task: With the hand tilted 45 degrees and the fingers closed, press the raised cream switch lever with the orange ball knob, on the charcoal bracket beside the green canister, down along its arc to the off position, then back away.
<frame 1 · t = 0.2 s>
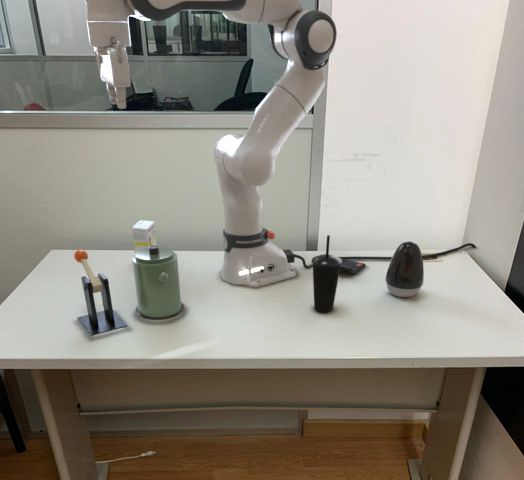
hand: (118, 106, 124), 48 cm above the table, tool pointing down, fingers open, 8 cm apart
ink box: (147, 260, 170), on the table
drinking cup: (323, 309, 140), on the table
switch bracket: (102, 325, 132), on the table
black egg-shaped device: (402, 294, 148), on the table
green canister: (160, 312, 138), on the table
switch lever: (88, 270, 128), point 13 cm above the table, hinge at 25.0°
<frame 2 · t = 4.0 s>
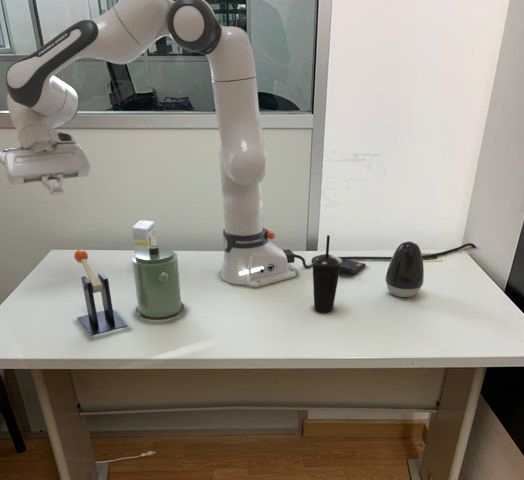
hand: (57, 193, 133), 28 cm above the table, tool tilted 45°, fingers closed
nothing on the table moved.
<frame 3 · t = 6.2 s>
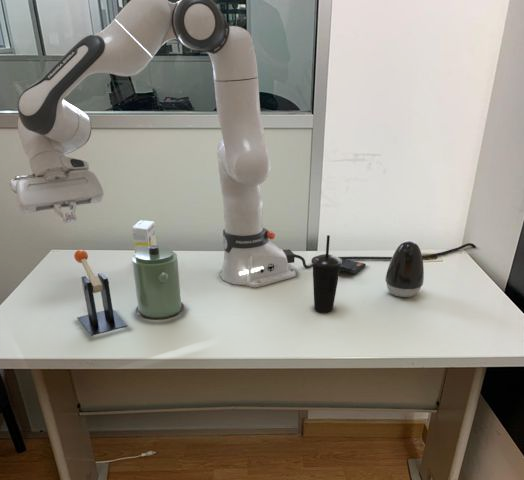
hand: (70, 220, 130), 23 cm above the table, tool tilted 45°, fingers closed
nothing on the table moved.
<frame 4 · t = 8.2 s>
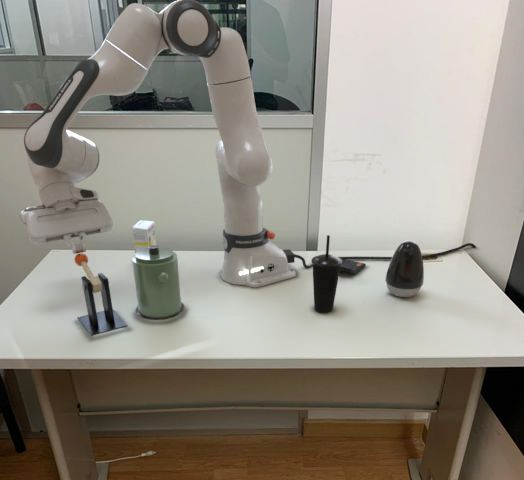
hand: (80, 251, 130), 16 cm above the table, tool tilted 45°, fingers closed
switch lever: (88, 271, 129), point 13 cm above the table, hinge at 18.6°, touching gripper
everything else where it was.
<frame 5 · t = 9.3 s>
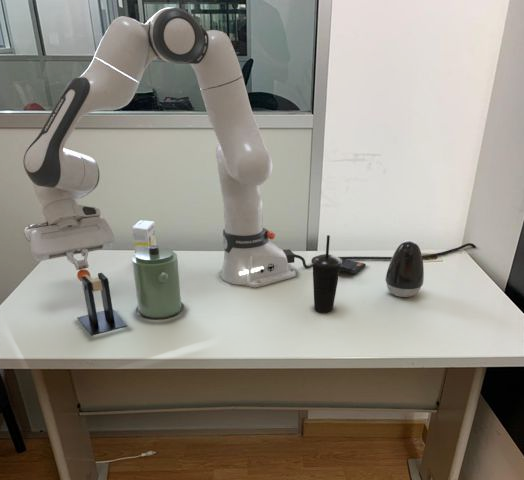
hand: (82, 268, 132), 12 cm above the table, tool tilted 45°, fingers closed
switch lever: (89, 279, 130), point 10 cm above the table, hinge at -6.7°, touching gripper
everything else where it was.
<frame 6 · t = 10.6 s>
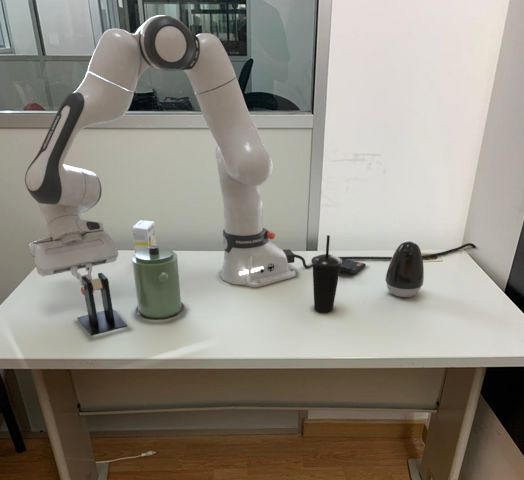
hand: (86, 282, 133), 8 cm above the table, tool tilted 45°, fingers closed, pressing on switch lever
switch lever: (91, 287, 131), point 9 cm above the table, hinge at -28.4°, touching gripper
everything else where it was.
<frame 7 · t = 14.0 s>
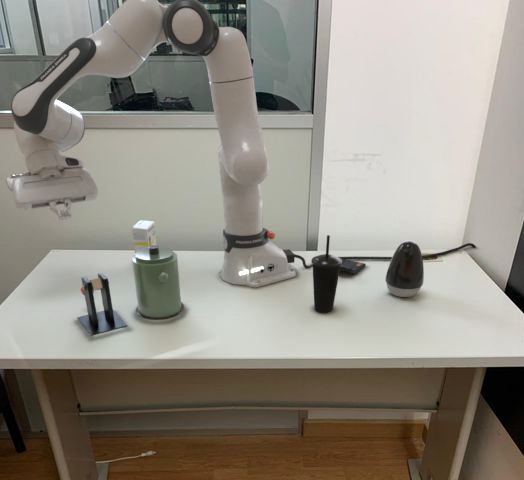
hand: (65, 218, 133), 23 cm above the table, tool tilted 45°, fingers closed
switch lever: (91, 287, 131), point 9 cm above the table, hinge at -28.4°
everything else where it was.
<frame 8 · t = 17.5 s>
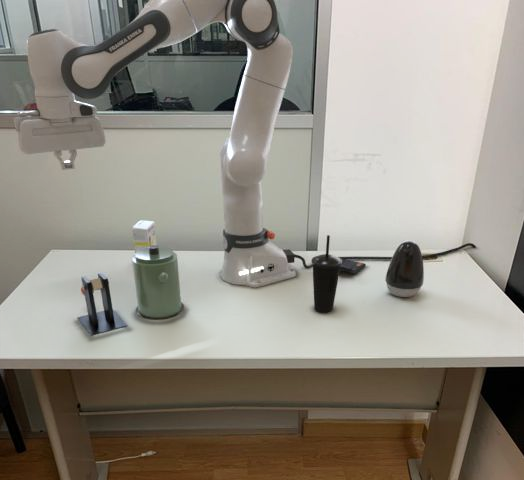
hand: (68, 168, 133), 33 cm above the table, tool pointing down, fingers closed
nothing on the table moved.
at the end: switch lever at -28° (first picture: +25°); ink box moved 0.2 cm from its start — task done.
